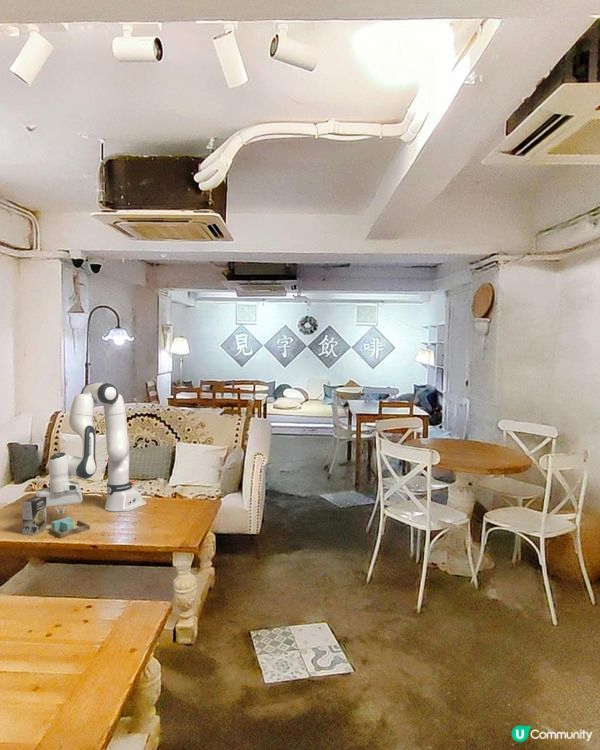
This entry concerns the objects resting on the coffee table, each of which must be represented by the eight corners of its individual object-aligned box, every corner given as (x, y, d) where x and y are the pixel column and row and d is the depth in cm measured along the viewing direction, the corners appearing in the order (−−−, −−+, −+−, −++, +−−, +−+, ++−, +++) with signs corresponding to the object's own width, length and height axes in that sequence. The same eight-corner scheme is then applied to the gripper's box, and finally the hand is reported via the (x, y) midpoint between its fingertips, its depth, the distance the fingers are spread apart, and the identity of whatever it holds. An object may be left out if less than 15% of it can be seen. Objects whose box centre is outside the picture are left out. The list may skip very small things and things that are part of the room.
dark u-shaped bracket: (79, 524, 252) (79, 520, 252) (89, 529, 247) (89, 525, 246) (49, 533, 240) (49, 529, 240) (59, 538, 235) (59, 534, 234)
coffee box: (33, 535, 237) (33, 502, 236) (21, 534, 238) (21, 501, 237) (47, 528, 246) (47, 496, 245) (35, 527, 247) (35, 495, 246)
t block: (69, 525, 251) (69, 516, 250) (79, 530, 245) (79, 521, 245) (51, 530, 243) (51, 521, 243) (61, 535, 238) (61, 526, 238)
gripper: (35, 491, 242) (37, 519, 243) (81, 485, 250) (83, 512, 251) (36, 487, 248) (38, 514, 249) (81, 482, 255) (83, 508, 257)
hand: (61, 513), depth 250 cm, fingers closed
